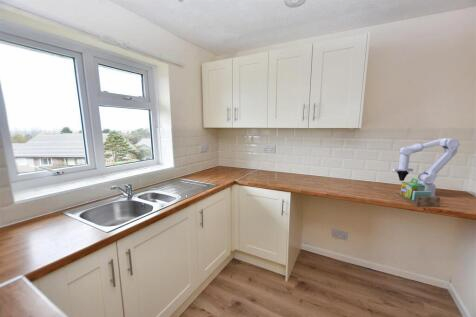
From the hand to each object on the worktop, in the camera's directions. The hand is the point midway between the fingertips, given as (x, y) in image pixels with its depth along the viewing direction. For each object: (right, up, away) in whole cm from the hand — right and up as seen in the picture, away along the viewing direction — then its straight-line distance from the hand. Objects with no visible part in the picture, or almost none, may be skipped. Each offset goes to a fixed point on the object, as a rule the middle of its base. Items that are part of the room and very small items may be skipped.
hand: (401, 180), depth 157 cm
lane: (-3, -12, -15) cm, 20 cm away
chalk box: (-4, -12, -13) cm, 18 cm away
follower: (-3, -13, -20) cm, 24 cm away
